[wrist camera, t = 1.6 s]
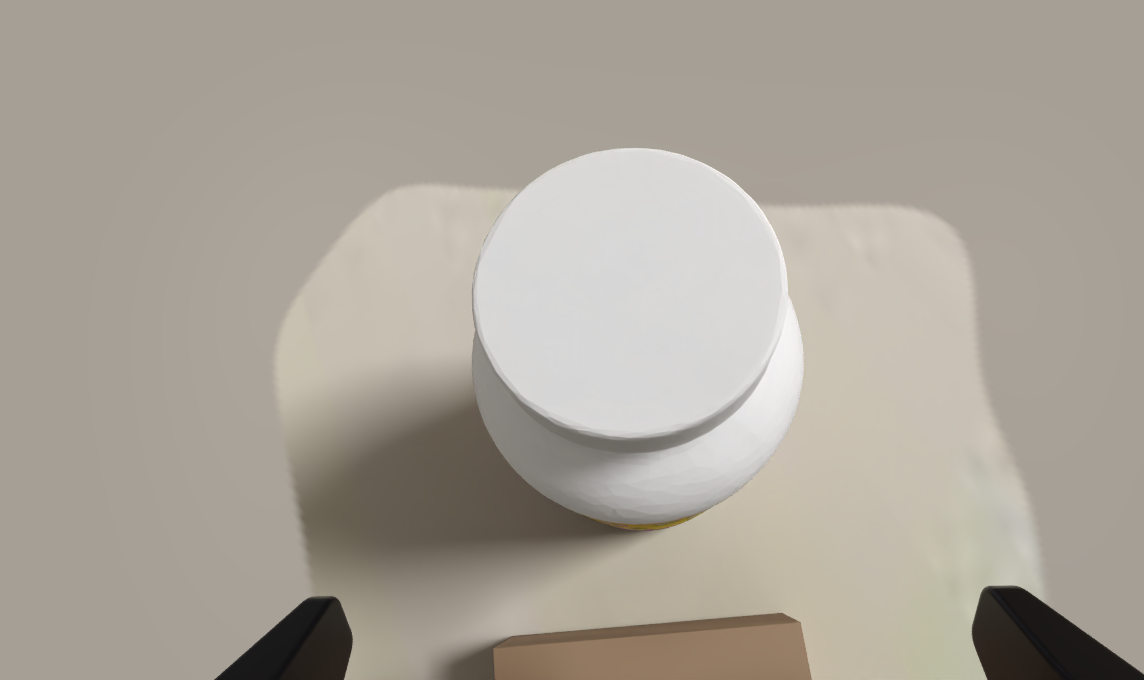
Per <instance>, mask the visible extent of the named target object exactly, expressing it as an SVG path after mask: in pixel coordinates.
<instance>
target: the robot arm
mask: <svg viewBox="0 0 1144 680" xmlns="http://www.w3.org/2000/svg"><path fill="white" fill-rule="evenodd" d="M972 638H973V643H974V646H975V649H976V652H977V654H978V657H979V659H980V662H981V664H982V667H983V669H984V672H985V675H986V677H987V680H1144V674H1143V673H1141V672H1140V671H1138V670H1137V669H1136V668H1134V667H1133V666H1132V665H1130V664H1129V663H1127V662H1126V661H1125V660H1123V659H1122V658H1120V657H1119V656H1117V655H1116V654H1115V653H1113V652H1112V651H1110V650H1109V649H1108V648H1106V647H1105V646H1104V645H1102V644H1100V643H1099V642H1098V641H1097V640H1095V639H1094V638H1092V637H1091V636H1090V635H1088V634H1087V633H1085V632H1084V631H1082V630H1081V629H1080V628H1078V627H1077V626H1076V625H1074V624H1073V623H1071V622H1070V621H1069V620H1067V619H1066V618H1064V617H1063V616H1062V615H1060V614H1059V613H1057V612H1056V611H1055V610H1053V609H1052V608H1050V607H1049V606H1048V605H1046V604H1045V603H1043V602H1042V601H1041V600H1039V599H1038V598H1036V597H1035V596H1034V595H1032V594H1031V593H1029V592H1028V591H1026V590H1025V589H1023V588H1021V587H1018V586H988V587H985V588H984V589H983V590H982V592H981V595H980V599H979V602H978V606H977V610H976V614H975V617H974V621H973V625H972ZM352 643H353V638H352V632H351V629H350V627H349V624H348V621H347V619H346V616H345V614H344V611H343V608H342V606H341V603H340V601H339V600H338V599H337V598H336V597H333V596H316V597H310V598H308V599H306V600H305V601H303V602H302V603H301V604H300V605H299V606H298V607H296V608H295V609H294V610H293V611H292V612H291V613H290V614H289V615H287V616H286V617H285V618H284V619H283V620H282V621H280V622H279V623H278V624H277V625H276V626H275V627H274V628H273V629H271V630H270V631H269V632H268V633H267V634H266V635H265V636H263V637H262V638H261V639H260V640H259V641H258V642H257V643H255V644H254V645H253V646H252V647H251V648H250V649H249V650H248V651H246V652H245V653H244V654H243V655H242V656H241V657H240V658H238V659H237V660H236V661H235V662H234V663H233V664H232V665H230V666H229V667H228V668H227V669H226V670H225V671H224V672H222V673H221V674H220V675H219V676H218V677H217V678H216V679H215V680H344V677H345V673H346V670H347V666H348V662H349V658H350V654H351V650H352Z"/></svg>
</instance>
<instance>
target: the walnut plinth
mask: <svg viewBox="0 0 1144 680" xmlns="http://www.w3.org/2000/svg"><path fill="white" fill-rule="evenodd" d="M493 655H494V678H495V680H812V679H811V674H810V669H809V663H808V658H807V653H806V648H805V643H804V638H803V633H802V628H801V623H800V622H799V621H797V620H795V619H793V618H791V617H789V616H787V615H785V614H783V613H777V614H765V615H753V616H742V617H730V618H719V619H707V620H695V621H684V622H672V623H661V624H649V625H637V626H626V627H614V628H602V629H591V630H579V631H568V632H556V633H544V634H533V635H521V636H512V637H511V638H509V639H507V640H506V641H504V642H503V643H501V644H499V645H498V646H496V647H495V648H493Z"/></svg>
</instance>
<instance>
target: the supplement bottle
mask: <svg viewBox="0 0 1144 680" xmlns="http://www.w3.org/2000/svg"><path fill="white" fill-rule="evenodd" d="M472 311H473V320H474V326H475V334H474V340H473V351H472V377H473V385H474V390H475V396H476V400H477V404H478V407H479V410H480V414H481V417H482V420H483V422H484V424H485V426H486V428H487V430H488V432H489V434H490V436H491V438H492V440H493V441H494V443H495V445H496V447H497V448H498V450H499V451H500V452H501V454H502V455H503V456H504V458H505V459H506V461H507V462H508V463H509V464H510V465H511V467H512V468H513V469H514V470H515V471H516V472H517V473H518V474H519V475H520V476H521V477H522V478H523V479H524V480H525V481H526V482H527V483H528V484H530V485H531V486H532V487H533V488H534V489H536V490H537V491H538V492H540V493H541V494H543V495H544V496H546V497H547V498H549V499H551V500H552V501H554V502H556V503H558V504H559V505H561V506H563V507H565V508H567V509H569V510H571V511H573V512H576V513H578V514H581V515H583V516H586V517H589V518H591V519H593V520H595V521H598V522H601V523H603V524H606V525H609V526H613V527H616V528H621V529H626V530H636V531H649V530H658V529H664V528H669V527H672V526H675V525H678V524H681V523H683V522H685V521H688V520H690V519H692V518H694V517H696V516H698V515H699V514H701V513H703V512H704V511H706V510H708V509H709V508H711V507H713V506H715V505H717V504H719V503H720V502H722V501H724V500H725V499H727V498H729V497H730V496H732V495H733V494H735V493H736V492H737V491H739V490H740V489H741V488H742V487H743V486H744V485H746V484H747V483H748V482H749V481H750V480H751V479H752V478H753V477H754V476H755V475H756V474H757V473H758V472H759V471H760V470H761V469H762V467H763V466H764V465H765V464H766V463H767V462H768V460H769V459H770V458H771V456H772V455H773V454H774V452H775V451H776V450H777V448H778V447H779V445H780V443H781V442H782V440H783V438H784V436H785V435H786V433H787V431H788V429H789V427H790V424H791V422H792V420H793V417H794V415H795V412H796V409H797V405H798V401H799V396H800V392H801V386H802V379H803V347H802V339H801V333H800V329H799V324H798V320H797V317H796V314H795V311H794V308H793V305H792V303H791V300H790V298H789V296H788V284H787V271H786V266H785V262H784V257H783V254H782V250H781V247H780V244H779V241H778V239H777V237H776V235H775V232H774V230H773V228H772V226H771V225H770V223H769V221H768V220H767V218H766V216H765V215H764V213H763V211H762V210H761V209H760V208H759V206H758V205H757V204H756V203H755V201H754V200H753V199H752V198H751V197H750V196H749V195H748V194H747V193H746V192H744V191H743V190H742V189H741V188H740V187H739V186H738V185H737V184H736V183H735V182H734V181H732V180H731V179H730V178H728V177H727V176H725V175H724V174H722V173H720V172H718V171H717V170H715V169H713V168H711V167H710V166H708V165H706V164H703V163H701V162H699V161H697V160H694V159H691V158H689V157H686V156H683V155H681V154H677V153H672V152H668V151H664V150H655V149H645V148H625V149H624V148H623V149H612V150H606V151H600V152H594V153H589V154H586V155H583V156H580V157H577V158H575V159H572V160H570V161H567V162H564V163H562V164H561V165H559V166H557V167H555V168H553V169H551V170H549V171H547V172H545V173H544V174H543V175H541V176H540V177H538V178H537V179H535V180H534V181H533V182H531V183H530V184H528V185H527V186H526V187H525V188H524V189H523V190H521V191H520V192H519V193H518V194H517V195H516V196H515V197H514V199H513V200H512V201H511V202H510V203H509V204H508V205H507V206H506V207H505V209H504V210H503V211H502V213H501V214H500V215H499V217H498V218H497V220H496V221H495V223H494V225H493V227H492V228H491V230H490V232H489V234H488V235H487V237H486V239H485V241H484V243H483V246H482V249H481V252H480V254H479V257H478V260H477V263H476V267H475V272H474V277H473V285H472Z"/></svg>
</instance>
